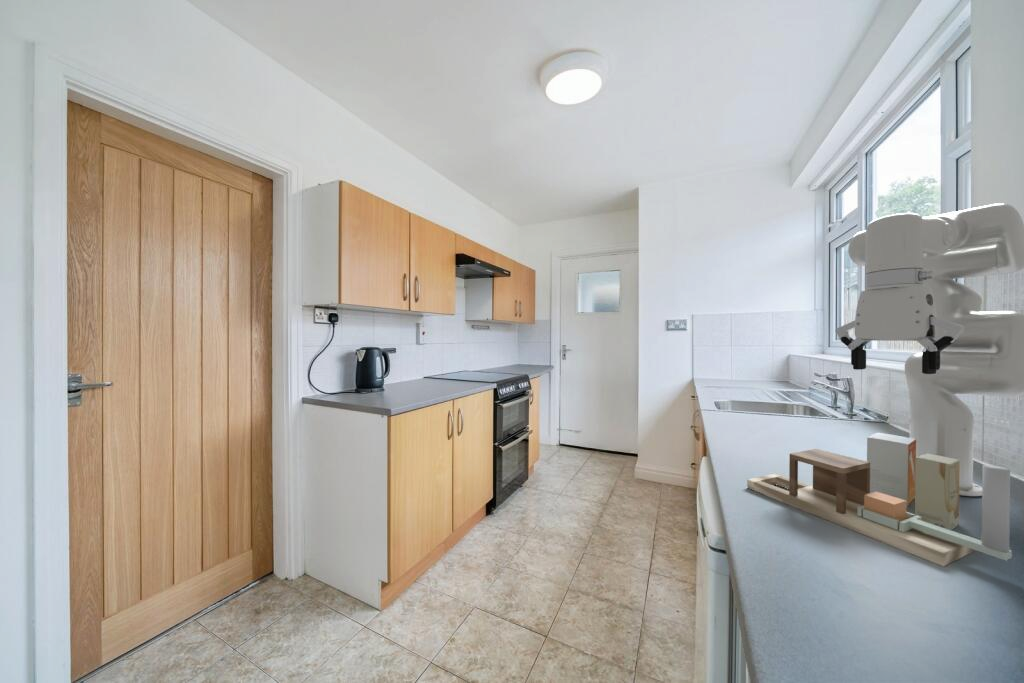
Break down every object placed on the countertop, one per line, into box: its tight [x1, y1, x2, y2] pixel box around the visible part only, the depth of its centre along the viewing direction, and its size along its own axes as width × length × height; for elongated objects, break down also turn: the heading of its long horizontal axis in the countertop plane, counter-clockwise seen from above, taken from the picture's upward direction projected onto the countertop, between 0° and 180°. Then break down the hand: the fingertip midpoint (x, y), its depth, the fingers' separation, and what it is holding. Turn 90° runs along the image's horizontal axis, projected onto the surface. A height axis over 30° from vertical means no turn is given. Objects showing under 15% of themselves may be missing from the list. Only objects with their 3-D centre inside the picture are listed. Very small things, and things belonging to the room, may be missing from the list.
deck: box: [746, 473, 974, 567], centre depth 69 cm, size 10×30×2 cm, turn 22°
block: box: [864, 492, 908, 523], centre depth 63 cm, size 4×4×4 cm
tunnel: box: [788, 448, 870, 514], centre depth 71 cm, size 9×9×8 cm
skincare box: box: [914, 454, 960, 531], centre depth 66 cm, size 6×4×12 cm
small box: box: [866, 432, 916, 507], centre depth 77 cm, size 8×6×13 cm
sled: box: [857, 464, 1013, 561], centre depth 58 cm, size 6×16×13 cm, turn 22°
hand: (892, 371), depth 67 cm, fingers open, 9 cm apart
